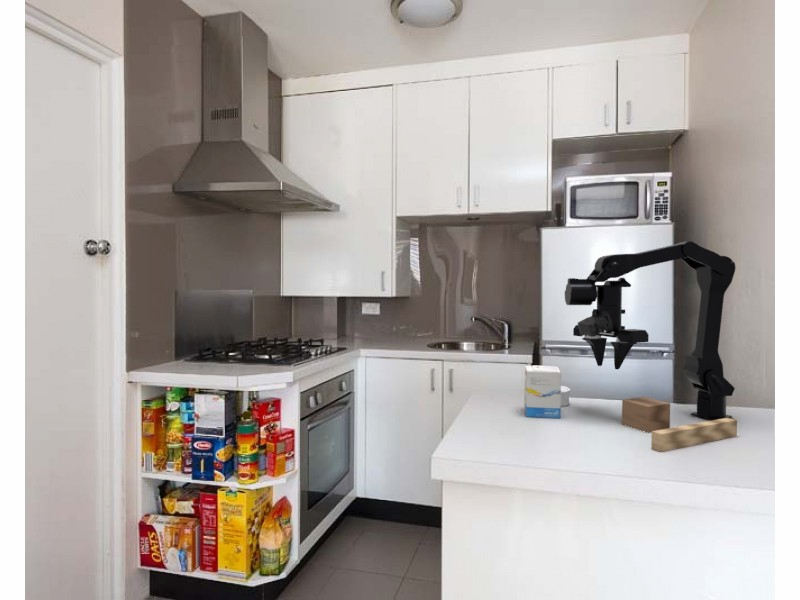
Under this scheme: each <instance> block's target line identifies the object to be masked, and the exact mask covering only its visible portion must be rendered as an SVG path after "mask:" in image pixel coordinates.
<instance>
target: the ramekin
mask: <svg viewBox="0 0 800 600" xmlns="http://www.w3.org/2000/svg"><path fill="white" fill-rule="evenodd" d="M570 393H571V388H569V387H567V386H564V385H561V407H566V406H568V405H569V402H570Z"/></svg>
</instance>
